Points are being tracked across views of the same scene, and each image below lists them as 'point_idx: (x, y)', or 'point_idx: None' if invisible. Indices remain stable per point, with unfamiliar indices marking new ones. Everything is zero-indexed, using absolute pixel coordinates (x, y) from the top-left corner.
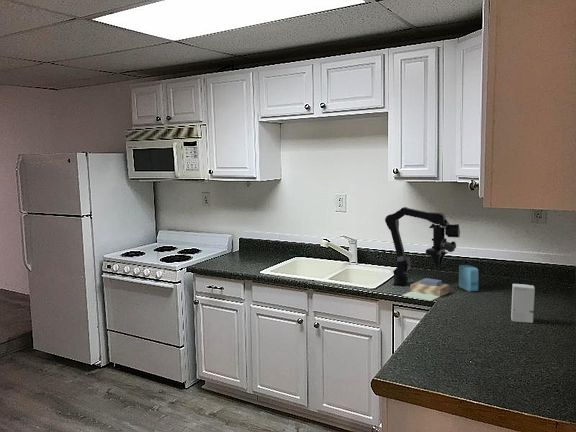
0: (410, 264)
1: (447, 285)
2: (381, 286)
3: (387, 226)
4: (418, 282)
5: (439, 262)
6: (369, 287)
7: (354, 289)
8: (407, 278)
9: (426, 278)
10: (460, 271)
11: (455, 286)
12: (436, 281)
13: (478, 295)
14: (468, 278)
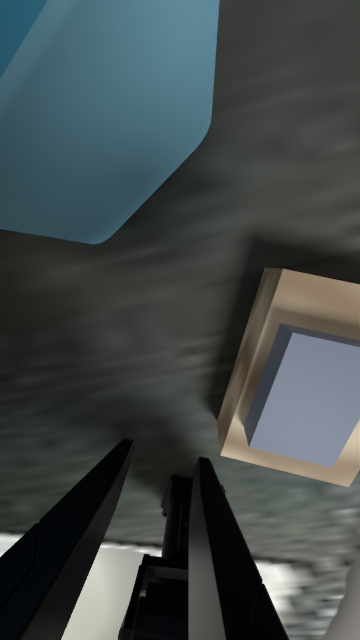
0: (137, 630)
1: (315, 275)
2: (251, 551)
3: None
4: (277, 457)
5: (115, 497)
6: (284, 580)
7: (334, 614)
8: (189, 513)
9: (260, 441)
10: (40, 203)
11: (104, 266)
12: (350, 363)
13: (288, 40)
14: (183, 77)
